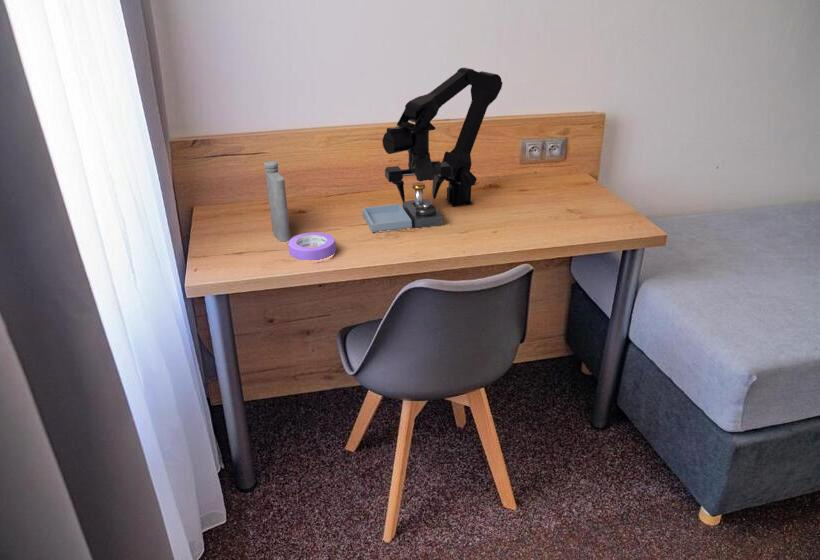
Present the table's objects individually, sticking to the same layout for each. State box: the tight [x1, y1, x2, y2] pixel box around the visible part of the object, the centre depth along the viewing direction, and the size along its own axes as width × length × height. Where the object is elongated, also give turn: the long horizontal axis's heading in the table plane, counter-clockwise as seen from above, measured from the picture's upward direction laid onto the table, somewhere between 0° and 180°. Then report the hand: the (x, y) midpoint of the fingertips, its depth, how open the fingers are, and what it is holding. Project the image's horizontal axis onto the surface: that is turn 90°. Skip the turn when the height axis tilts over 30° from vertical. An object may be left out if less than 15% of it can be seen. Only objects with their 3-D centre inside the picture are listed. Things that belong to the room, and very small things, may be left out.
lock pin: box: [411, 182, 426, 207], centre depth 182 cm, size 4×4×9 cm
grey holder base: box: [401, 198, 444, 229], centre depth 180 cm, size 8×14×5 cm, turn 15°
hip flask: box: [263, 160, 292, 242], centre depth 168 cm, size 16×4×20 cm, turn 18°
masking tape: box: [288, 231, 336, 261], centre depth 160 cm, size 12×12×4 cm
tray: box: [362, 203, 413, 233], centre depth 178 cm, size 11×13×2 cm
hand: (418, 200), depth 182 cm, fingers open, 9 cm apart
